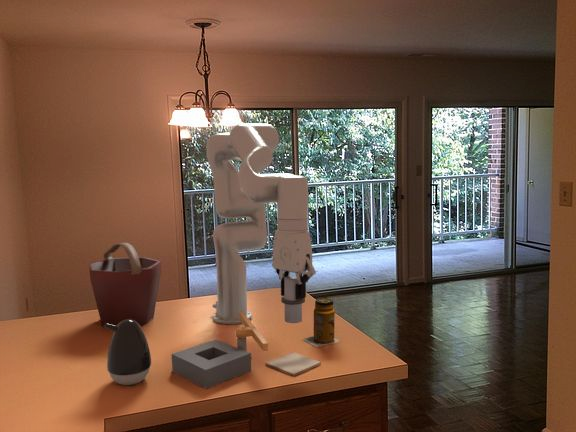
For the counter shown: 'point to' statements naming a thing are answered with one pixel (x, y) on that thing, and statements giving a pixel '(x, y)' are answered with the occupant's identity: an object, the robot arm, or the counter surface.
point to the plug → (291, 301)
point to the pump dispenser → (128, 353)
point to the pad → (293, 363)
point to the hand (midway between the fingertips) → (293, 296)
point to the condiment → (323, 323)
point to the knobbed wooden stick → (250, 332)
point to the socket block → (212, 362)
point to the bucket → (125, 286)
